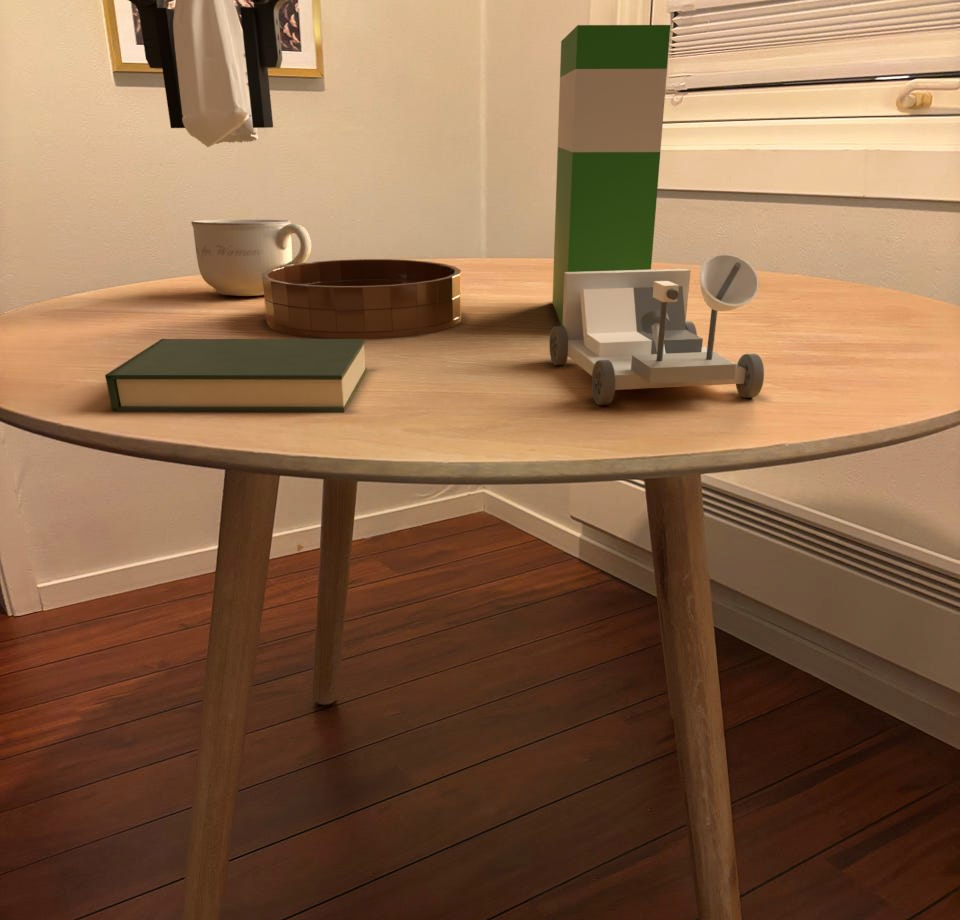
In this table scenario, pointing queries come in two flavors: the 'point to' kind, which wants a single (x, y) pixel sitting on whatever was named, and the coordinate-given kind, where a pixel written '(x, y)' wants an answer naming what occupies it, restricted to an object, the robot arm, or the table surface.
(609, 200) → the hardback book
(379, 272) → the bowl
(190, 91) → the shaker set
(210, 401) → the green book
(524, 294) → the table surface
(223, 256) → the teacup
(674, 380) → the toy car
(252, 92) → the robot arm
